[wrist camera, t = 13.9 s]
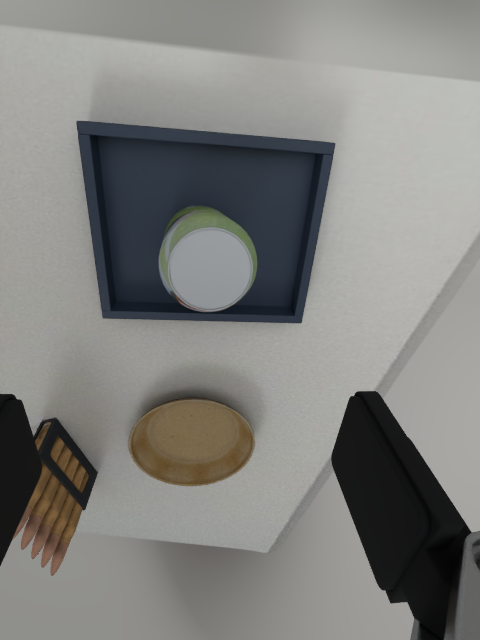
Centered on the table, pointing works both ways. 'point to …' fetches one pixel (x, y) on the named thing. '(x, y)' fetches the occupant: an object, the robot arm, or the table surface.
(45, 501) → the ammunition clip
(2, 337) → the table surface
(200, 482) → the plant saucer
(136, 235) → the tray
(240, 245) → the beverage can
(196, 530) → the table surface
